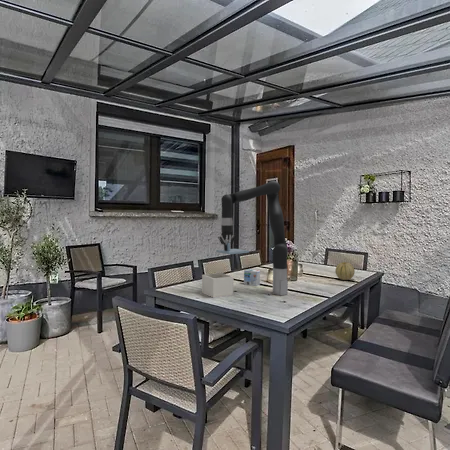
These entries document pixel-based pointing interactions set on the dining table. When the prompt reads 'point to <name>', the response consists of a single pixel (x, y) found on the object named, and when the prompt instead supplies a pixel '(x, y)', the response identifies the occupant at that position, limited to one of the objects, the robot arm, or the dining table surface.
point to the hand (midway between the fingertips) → (227, 250)
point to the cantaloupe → (344, 271)
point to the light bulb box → (252, 277)
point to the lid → (232, 250)
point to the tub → (217, 285)
